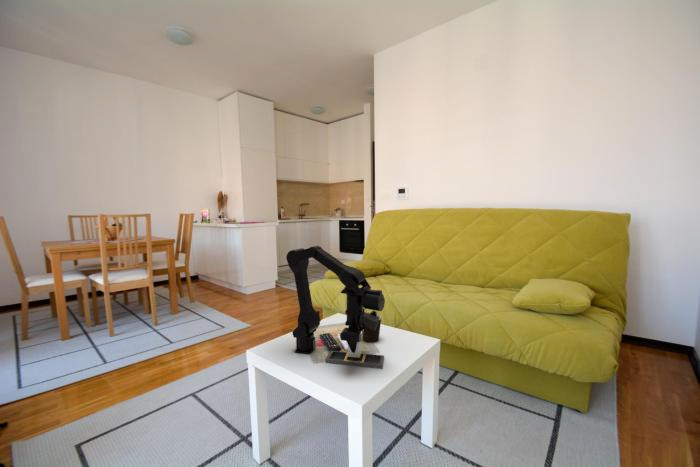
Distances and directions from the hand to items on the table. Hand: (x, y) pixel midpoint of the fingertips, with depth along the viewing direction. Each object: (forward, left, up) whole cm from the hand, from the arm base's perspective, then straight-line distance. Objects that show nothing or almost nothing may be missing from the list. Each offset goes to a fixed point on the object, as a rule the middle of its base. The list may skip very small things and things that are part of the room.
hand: (355, 349), depth 105 cm
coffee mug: (+3, +20, -5) cm, 21 cm away
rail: (0, 0, -5) cm, 5 cm away
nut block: (0, 0, -2) cm, 2 cm away
